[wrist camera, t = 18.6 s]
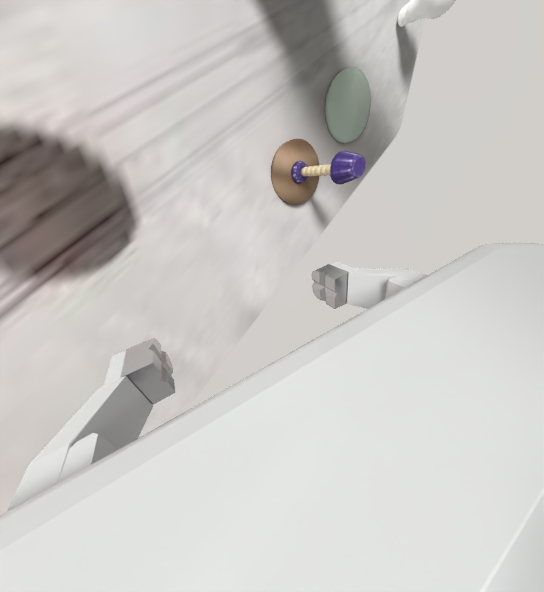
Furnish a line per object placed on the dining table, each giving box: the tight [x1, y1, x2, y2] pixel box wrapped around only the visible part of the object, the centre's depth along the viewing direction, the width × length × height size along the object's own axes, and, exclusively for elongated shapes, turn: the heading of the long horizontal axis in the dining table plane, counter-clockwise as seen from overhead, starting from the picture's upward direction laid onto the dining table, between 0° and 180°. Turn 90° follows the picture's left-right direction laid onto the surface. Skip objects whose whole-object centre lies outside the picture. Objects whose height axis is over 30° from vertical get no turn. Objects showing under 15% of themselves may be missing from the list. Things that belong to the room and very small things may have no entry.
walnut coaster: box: [271, 139, 319, 204], centre depth 43 cm, size 12×12×1 cm
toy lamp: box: [291, 151, 366, 184], centre depth 36 cm, size 5×5×17 cm
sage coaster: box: [325, 67, 371, 143], centre depth 43 cm, size 12×12×1 cm
